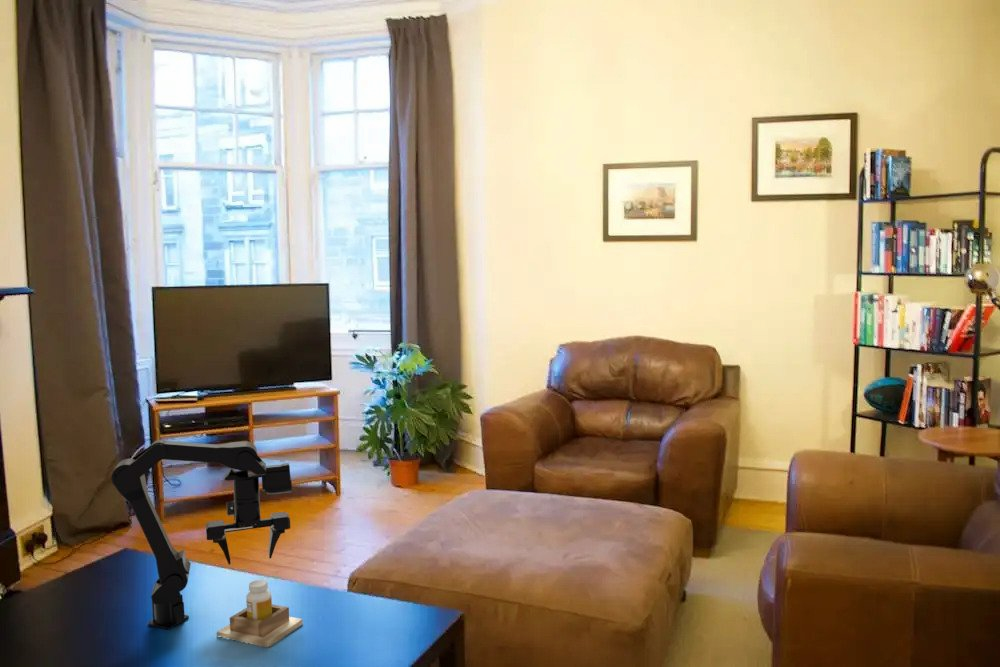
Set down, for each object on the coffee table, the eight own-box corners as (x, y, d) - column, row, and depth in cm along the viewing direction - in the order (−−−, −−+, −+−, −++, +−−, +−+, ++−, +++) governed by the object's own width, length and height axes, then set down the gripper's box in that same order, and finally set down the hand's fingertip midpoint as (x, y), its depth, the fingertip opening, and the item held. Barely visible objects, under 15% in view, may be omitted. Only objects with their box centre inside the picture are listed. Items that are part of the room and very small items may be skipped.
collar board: (216, 637, 177) (215, 618, 177) (253, 614, 188) (252, 597, 188) (268, 647, 172) (267, 628, 171) (302, 624, 183) (301, 606, 182)
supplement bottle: (276, 620, 182) (274, 578, 182) (267, 631, 177) (265, 588, 176) (253, 619, 183) (251, 578, 182) (243, 630, 178) (241, 587, 177)
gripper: (283, 482, 199) (285, 544, 201) (203, 492, 192) (206, 555, 194) (289, 494, 189) (292, 559, 190) (205, 505, 182) (208, 571, 183)
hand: (249, 560), depth 190 cm, fingers open, 9 cm apart
